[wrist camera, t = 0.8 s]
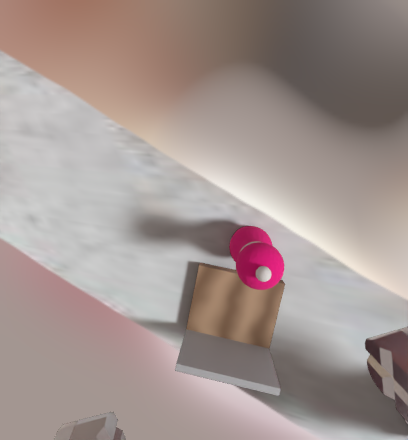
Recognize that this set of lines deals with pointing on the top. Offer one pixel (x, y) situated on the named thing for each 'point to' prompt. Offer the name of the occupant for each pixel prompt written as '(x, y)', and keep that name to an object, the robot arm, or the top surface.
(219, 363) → the bookend
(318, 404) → the top surface
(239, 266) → the pepper mill
